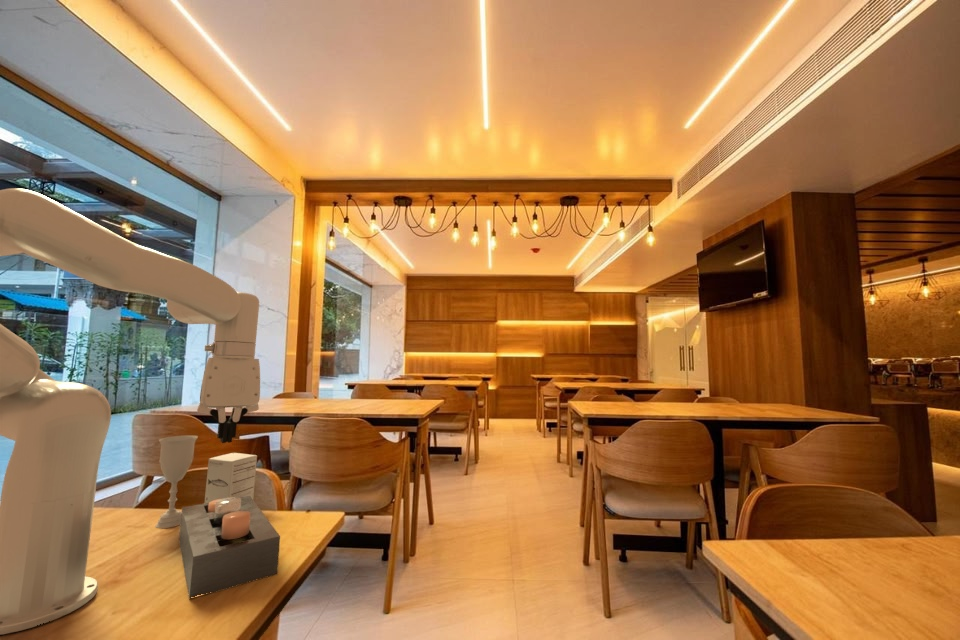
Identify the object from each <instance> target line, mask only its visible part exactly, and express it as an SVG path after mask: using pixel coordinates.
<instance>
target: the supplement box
mask: <svg viewBox="0 0 960 640" xmlns="http://www.w3.org/2000/svg"><path fill="white" fill-rule="evenodd" d="M257 460H258V455H256V454H248V453H240V452H230V453H226V454H222V455H218V456H214V457H211V458H208V465H207V473H206V475H207V476H206V484H205V485H206V486H205V492H204V494H205V495H204V503H209V502H211V501H214V500H217V499H224V498H230V497H238V498H240V497H246V496H251V498H252V499H253V500H254V496H255V495H254V494H255V485H256V474H257ZM204 503H203V504H204Z"/></svg>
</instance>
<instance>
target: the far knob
mask: <svg viewBox="0 0 960 640" xmlns="http://www.w3.org/2000/svg"><path fill="white" fill-rule="evenodd" d="M218 500H220V499H217V500H214V501H211V502H209V505H208V513H210V512H215V505H216V501H218Z"/></svg>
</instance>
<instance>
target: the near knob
mask: <svg viewBox="0 0 960 640" xmlns="http://www.w3.org/2000/svg"><path fill="white" fill-rule="evenodd" d="M250 514H251V513H250V512H248V511H237V512H232V513H229V514H226V515H224V516H223V521H222V533H221V538H223V539H227V540H235V539H239V538H242V537H245V536H248V535H247V534H248V533H249V527H250Z"/></svg>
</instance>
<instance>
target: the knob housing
mask: <svg viewBox="0 0 960 640" xmlns="http://www.w3.org/2000/svg"><path fill="white" fill-rule="evenodd" d="M240 498H241V507H240V511H248V512H250V513H251V514H250V527H249V533H248V534H247V535H246V536H247V537H248V538H249V539H246V540H243V541H238V542H233V543H230V544H225V545H220V544H219V542H221V541H227V540H228V539H223V538H221V533H222V522H216V521H214V517H215V512H210V513H208V505H209V503H199V504H193V505H187V506H182V507H181V511H180V512H181V522H180V525H179V532H178V533H179V534H178V542H179V546H180V555H181V559H182V564H183V570H184V577H185V582H186V587H187V594H189V595H188V599H189V598H191V597H195V596H197V595H201V594H206V593H210V592H213V593H216V591H217V592H220V591H224V590H227V589H230V588H229V587H231V588H233V587H232V586H234V587H236V585H237V586H240V584H241V585H244V584H247V582H248V583H250V582H249V581H251V582H254V581H253V580H255V581H257V580H256V579H258V580H261V579H260V578H262V579H264V578H263V577H265V578H268V577H272V576H275V575H278V569H279V558H280V556H279V555H280V542H281V535H280V534H279V533H278V531H277V530H276V528H275V527H274V526H273V524H271V522H270V521H269V519H268V517H266V515H265V514H264V513H263V512H262V509H261V508H260V507H259V506H258V504H257V503H256V502H255V501H254V498H253V499H252V498H251V496H246V497H240ZM271 575H272V576H271ZM267 576H268V577H267ZM226 588H227V589H226ZM223 589H224V590H223ZM210 594H211V593H210Z"/></svg>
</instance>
